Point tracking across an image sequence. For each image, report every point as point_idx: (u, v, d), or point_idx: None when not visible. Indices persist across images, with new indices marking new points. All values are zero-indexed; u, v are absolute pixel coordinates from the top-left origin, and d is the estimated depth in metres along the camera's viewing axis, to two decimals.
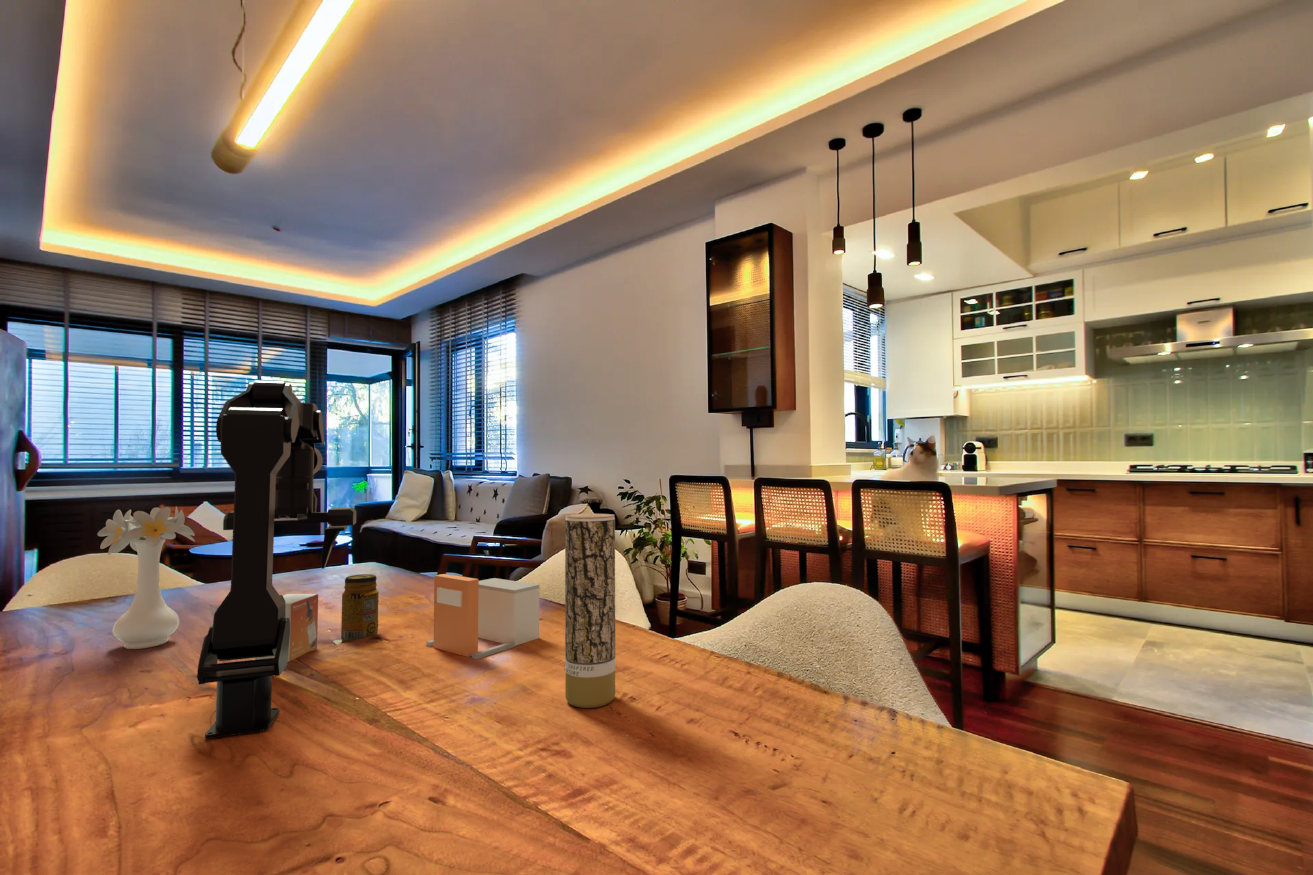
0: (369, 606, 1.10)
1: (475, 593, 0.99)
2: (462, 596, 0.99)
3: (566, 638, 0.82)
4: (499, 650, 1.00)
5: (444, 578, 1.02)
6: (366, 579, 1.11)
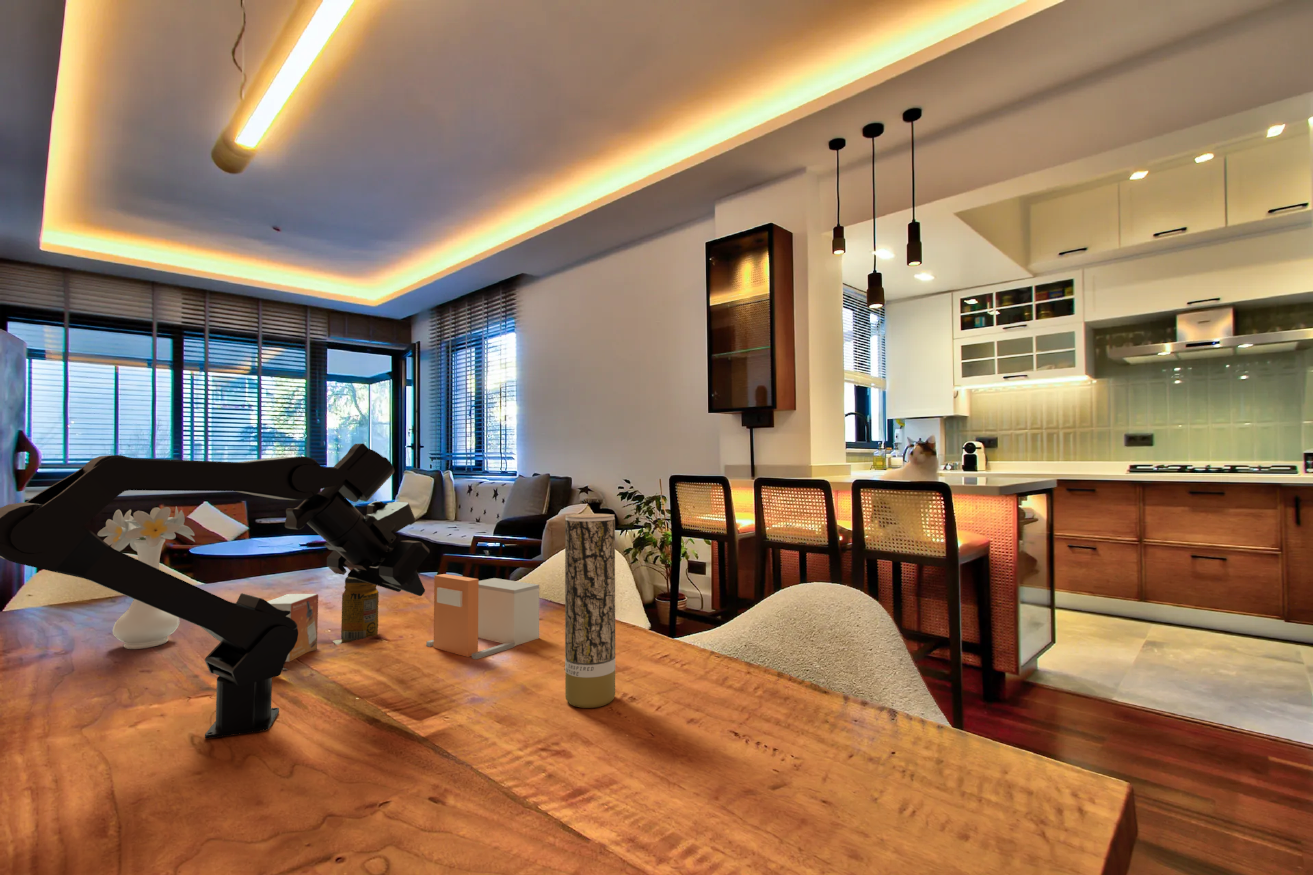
0: (369, 606, 1.10)
1: (475, 593, 0.99)
2: (462, 596, 0.99)
3: (566, 638, 0.82)
4: (499, 650, 1.00)
5: (444, 578, 1.02)
6: None
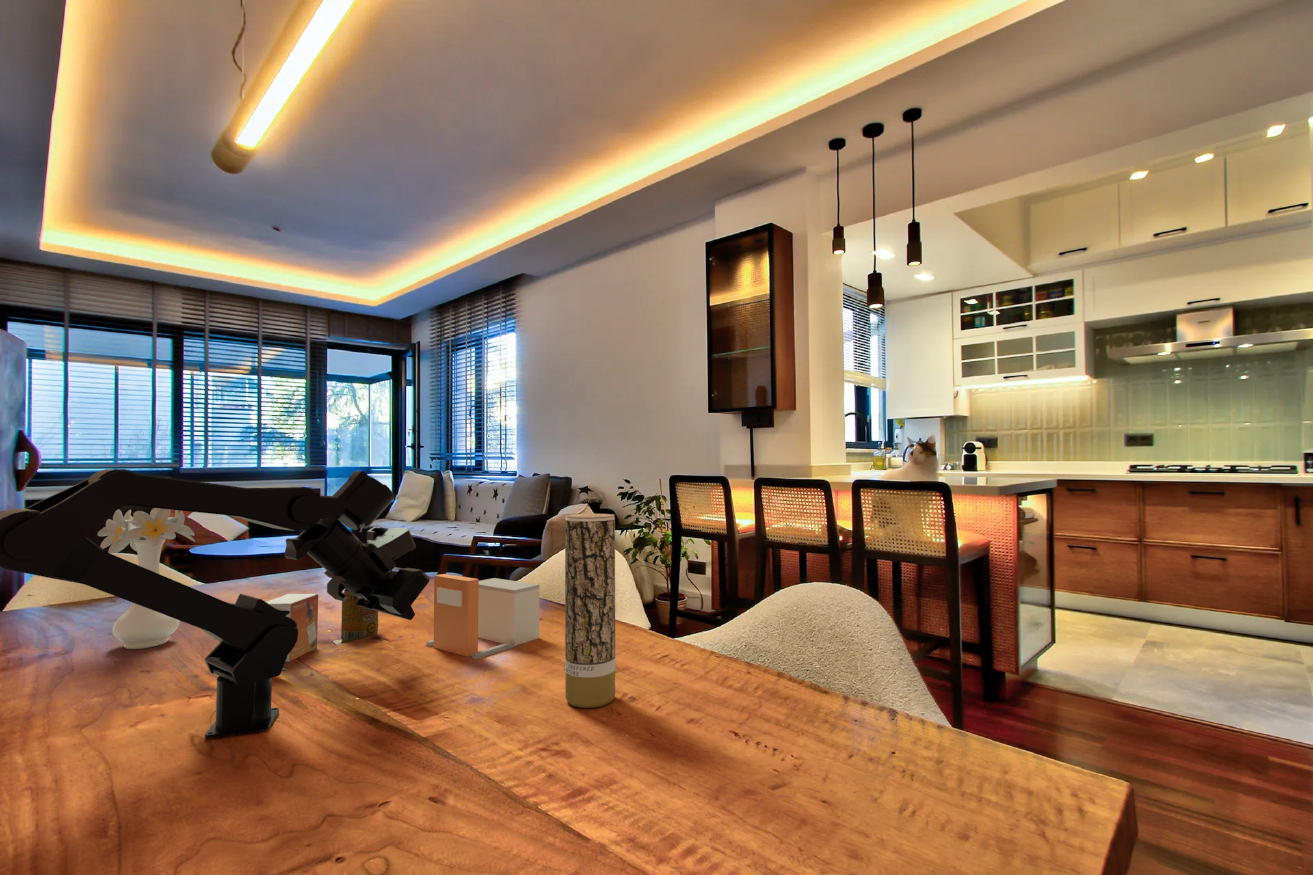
0: None
1: (475, 593, 0.99)
2: (462, 596, 0.99)
3: (566, 638, 0.82)
4: (499, 650, 1.00)
5: (444, 578, 1.02)
6: None
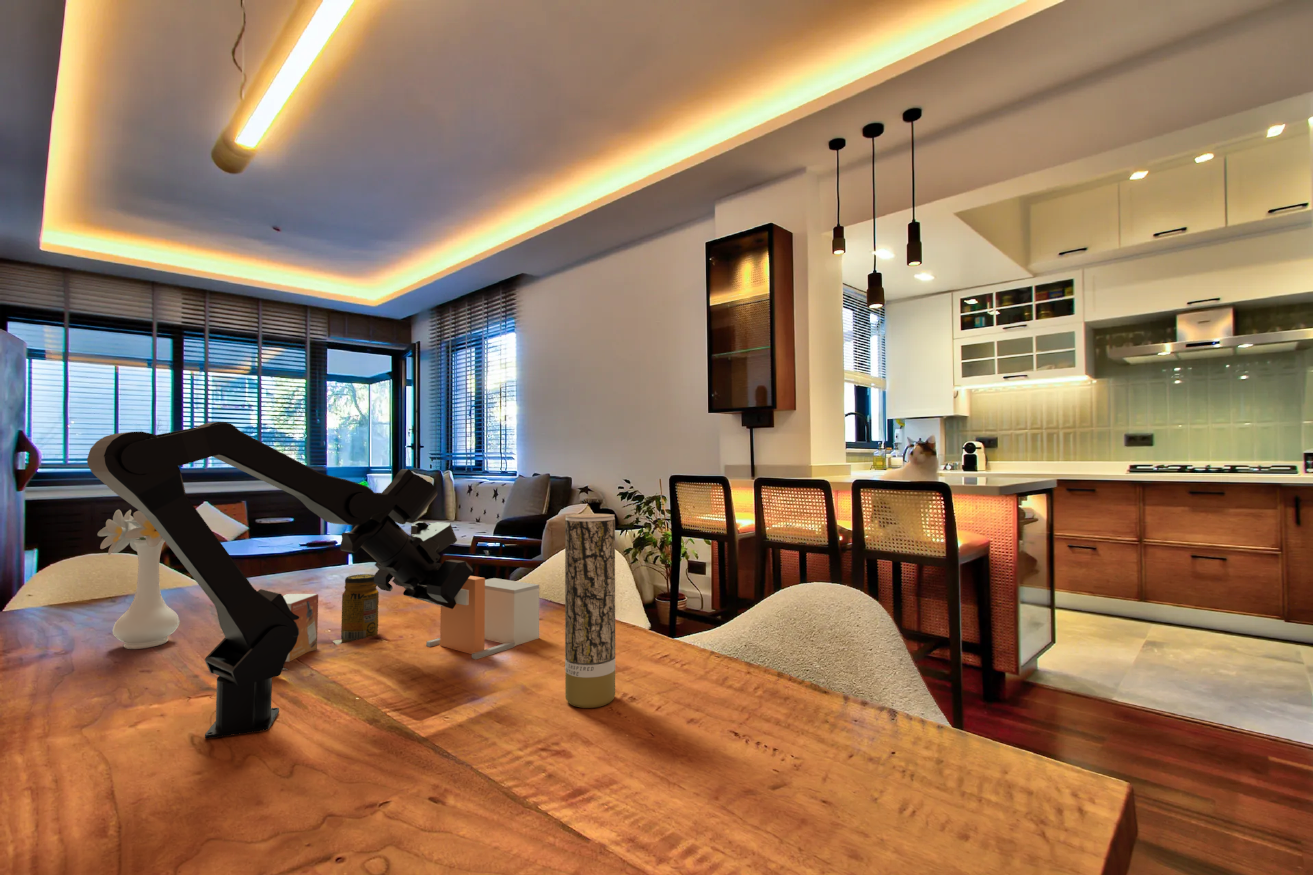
0: (369, 606, 1.10)
1: (482, 592, 1.00)
2: (469, 595, 1.00)
3: (566, 638, 0.82)
4: (499, 650, 1.00)
5: None
6: (366, 579, 1.11)
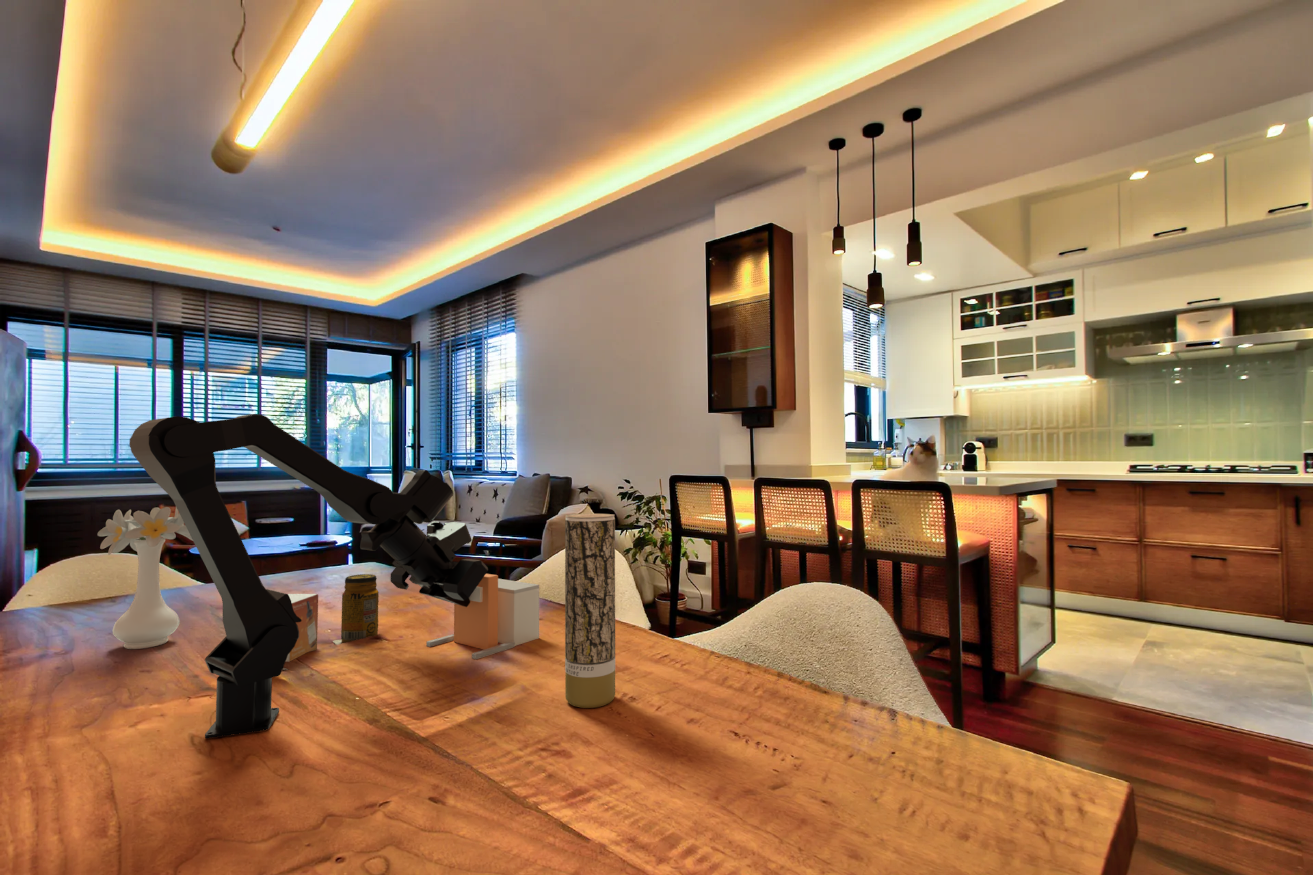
0: (369, 606, 1.10)
1: (495, 589, 1.03)
2: (482, 592, 1.02)
3: (566, 638, 0.82)
4: (499, 650, 1.00)
5: None
6: (366, 579, 1.11)
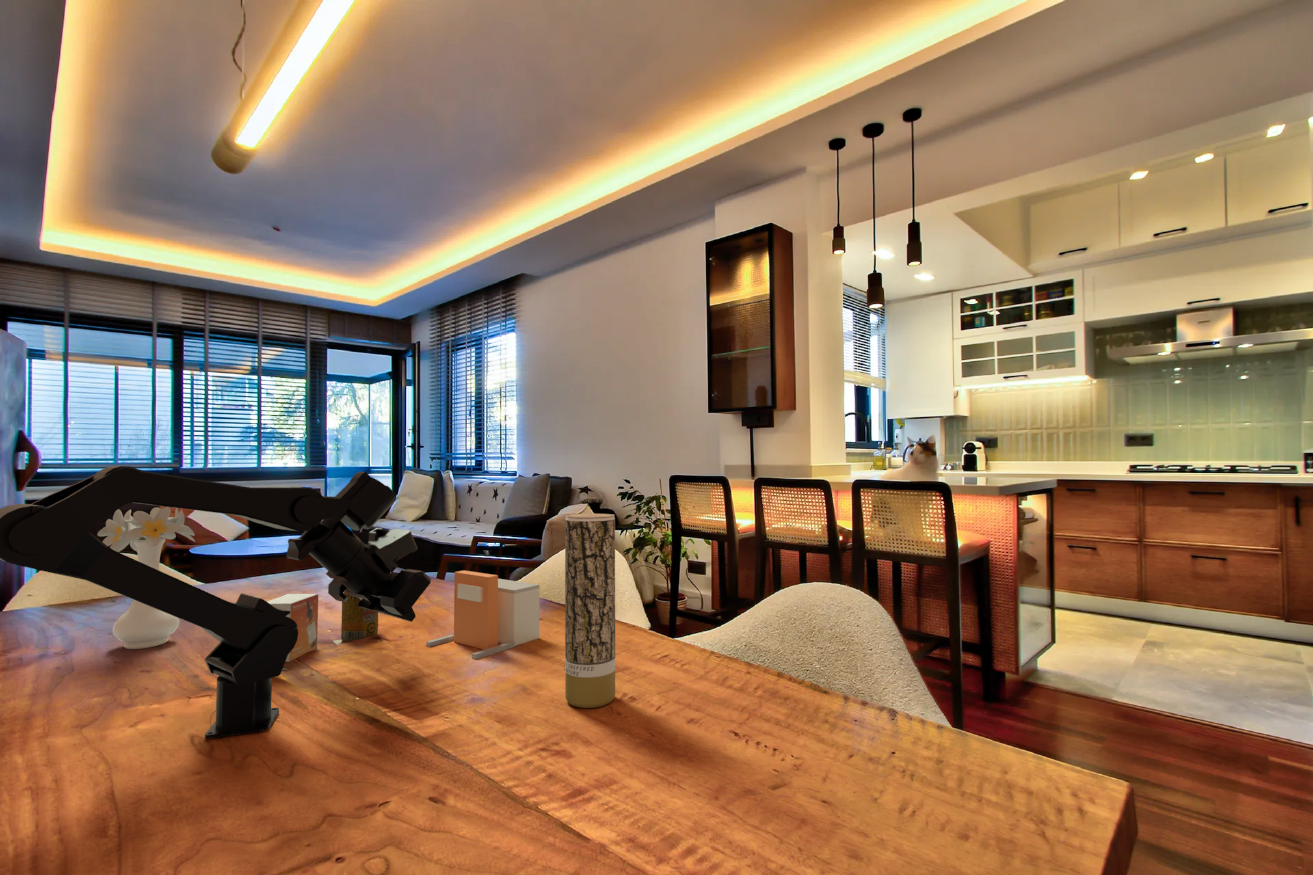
0: None
1: (495, 589, 1.03)
2: (482, 592, 1.02)
3: (566, 638, 0.82)
4: (499, 650, 1.00)
5: (464, 574, 1.05)
6: None
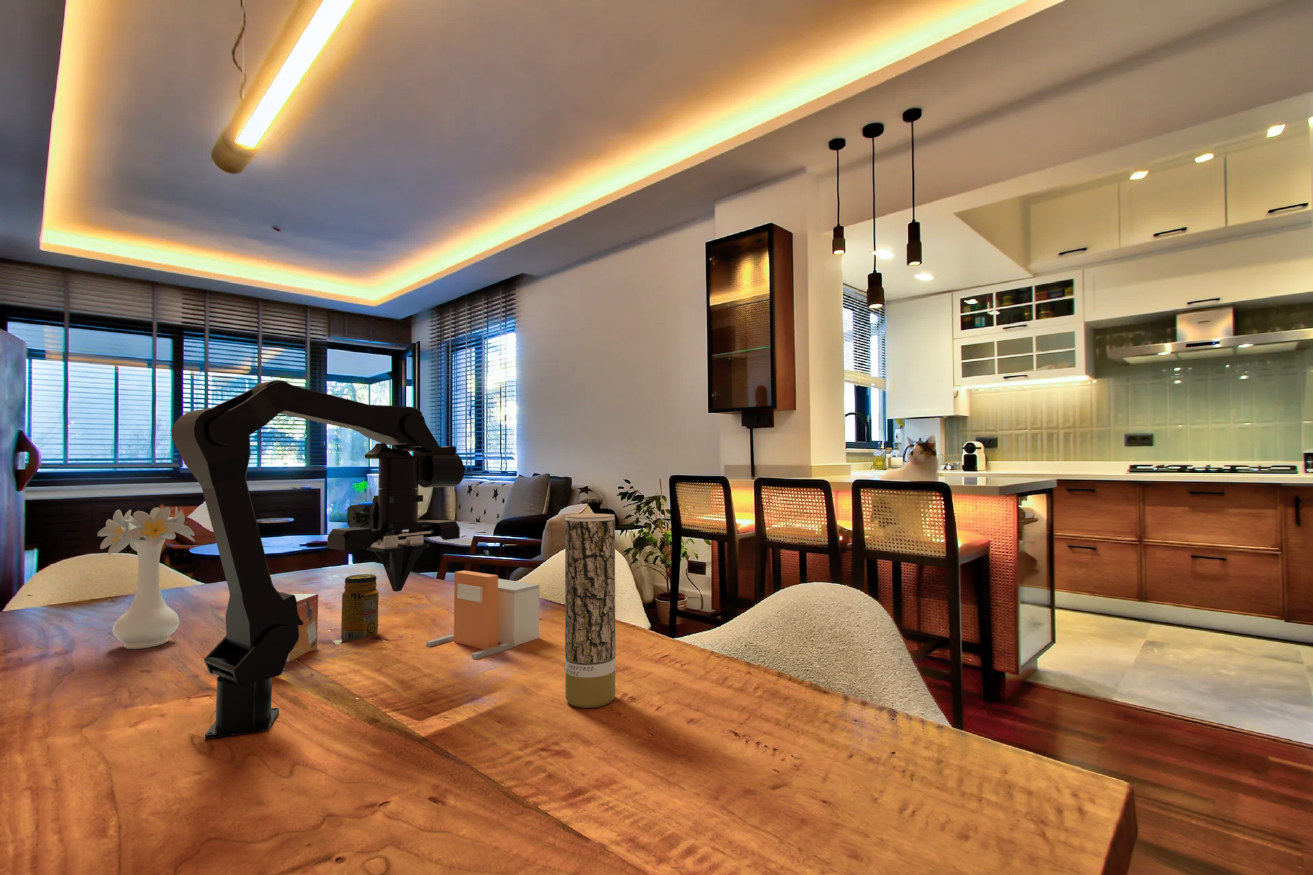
0: (369, 606, 1.10)
1: (495, 589, 1.03)
2: (482, 592, 1.02)
3: (566, 638, 0.82)
4: (499, 650, 1.00)
5: (464, 574, 1.05)
6: (366, 579, 1.11)
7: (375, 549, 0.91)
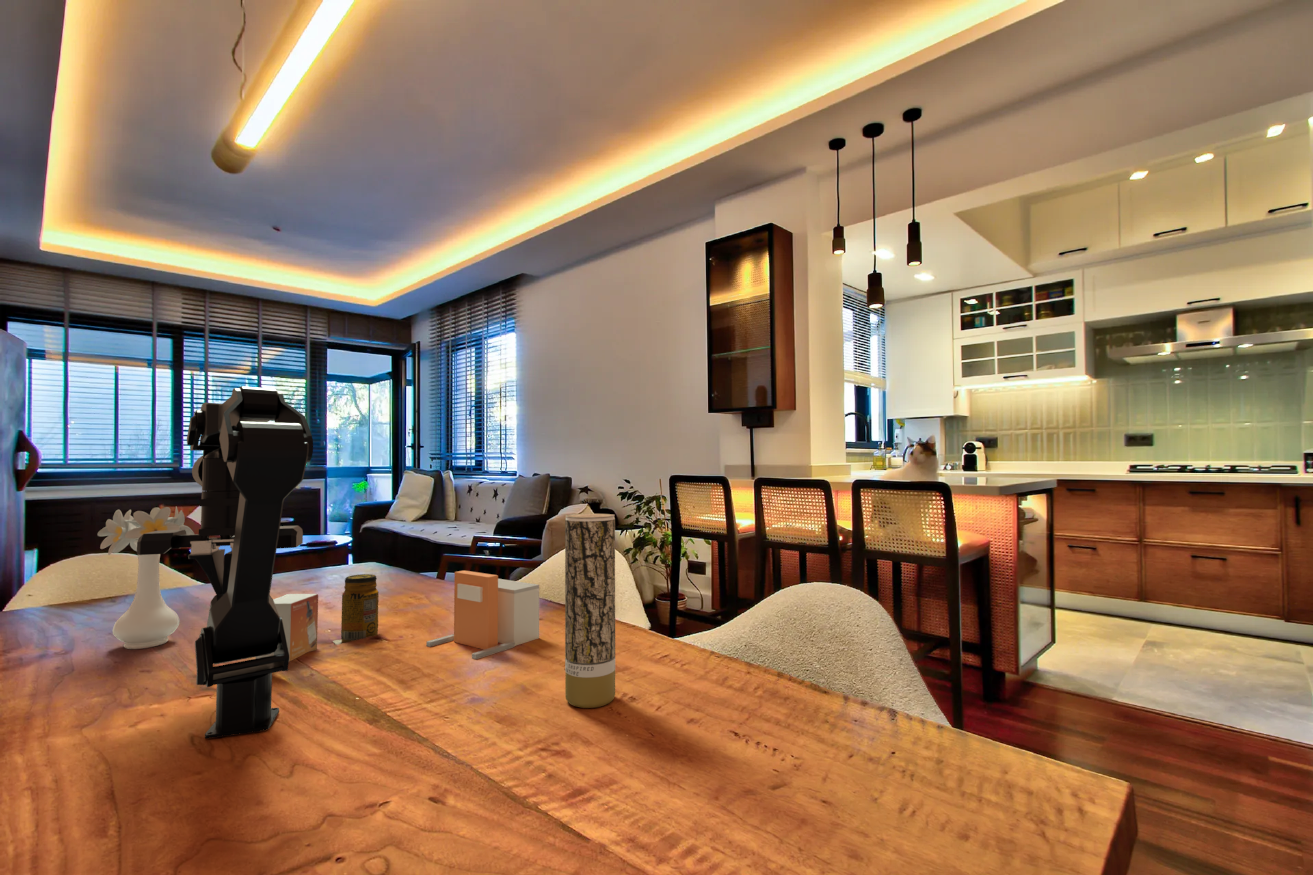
0: (369, 606, 1.10)
1: (495, 589, 1.03)
2: (482, 592, 1.02)
3: (566, 638, 0.82)
4: (499, 650, 1.00)
5: (464, 574, 1.05)
6: (366, 579, 1.11)
7: None
